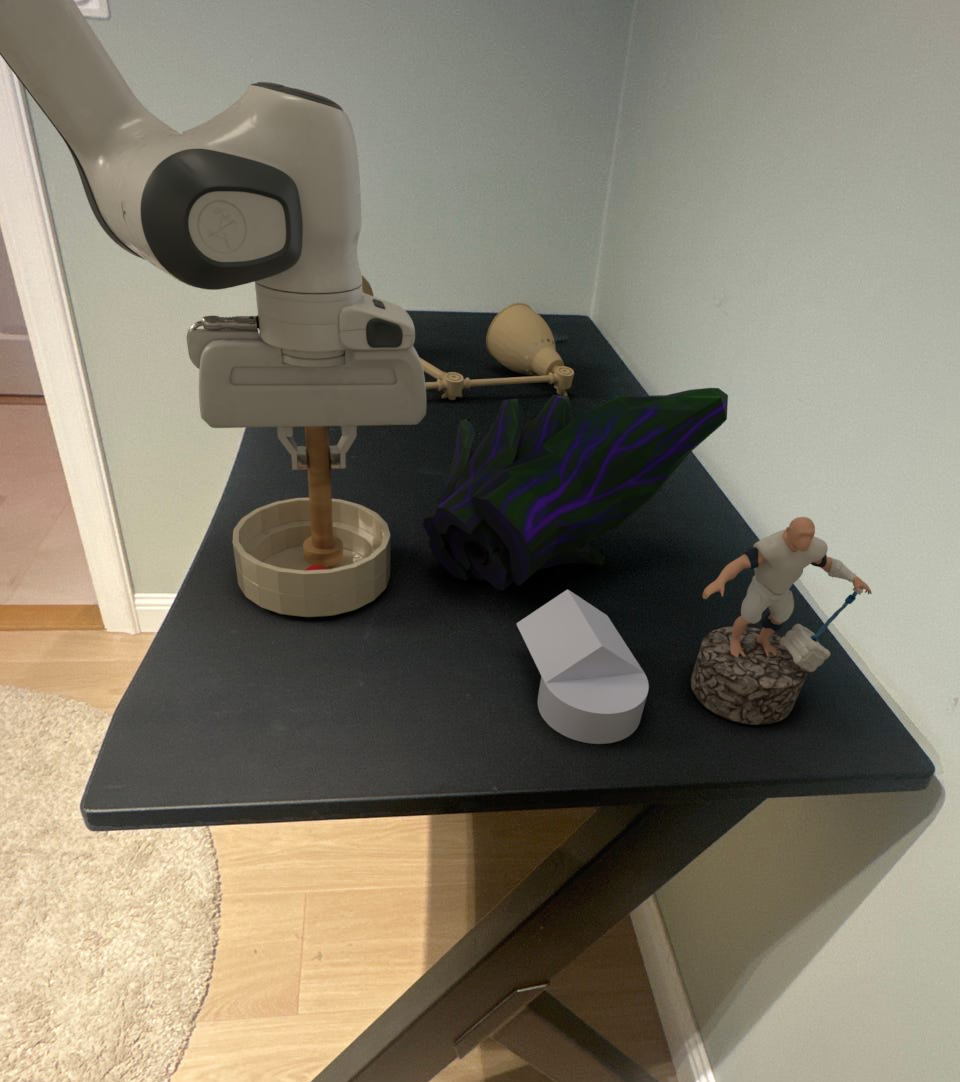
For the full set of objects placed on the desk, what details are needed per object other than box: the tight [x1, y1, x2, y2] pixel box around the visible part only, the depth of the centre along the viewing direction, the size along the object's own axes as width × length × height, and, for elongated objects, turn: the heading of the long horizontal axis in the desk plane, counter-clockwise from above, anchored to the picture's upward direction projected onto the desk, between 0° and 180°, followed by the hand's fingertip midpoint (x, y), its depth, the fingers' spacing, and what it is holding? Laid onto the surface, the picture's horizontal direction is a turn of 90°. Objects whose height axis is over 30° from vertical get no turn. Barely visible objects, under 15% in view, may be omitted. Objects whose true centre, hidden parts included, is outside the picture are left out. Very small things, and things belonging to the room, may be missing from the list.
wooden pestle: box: [303, 426, 343, 567], centre depth 76 cm, size 4×4×16 cm
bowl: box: [232, 497, 392, 618], centre depth 79 cm, size 15×15×6 cm
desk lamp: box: [362, 275, 575, 401], centre depth 131 cm, size 15×35×40 cm
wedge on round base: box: [516, 589, 650, 745], centre depth 67 cm, size 9×7×13 cm
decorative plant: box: [422, 387, 729, 591], centre depth 83 cm, size 21×26×30 cm
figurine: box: [690, 516, 872, 726], centre depth 65 cm, size 15×9×18 cm, turn 99°
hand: (319, 467), depth 75 cm, fingers closed on wooden pestle, 2 cm apart
